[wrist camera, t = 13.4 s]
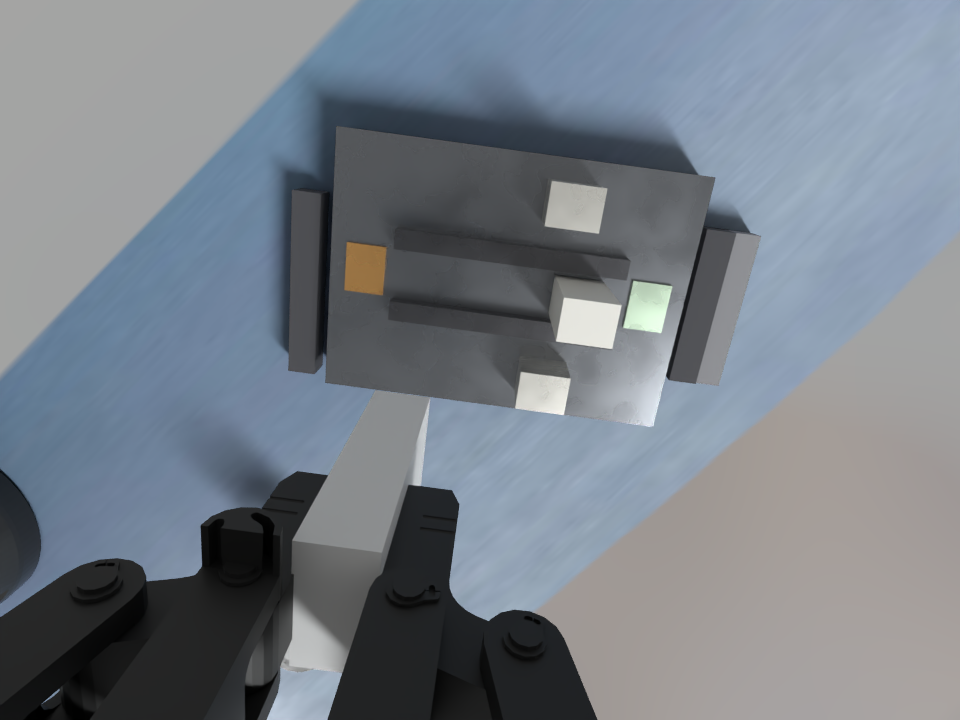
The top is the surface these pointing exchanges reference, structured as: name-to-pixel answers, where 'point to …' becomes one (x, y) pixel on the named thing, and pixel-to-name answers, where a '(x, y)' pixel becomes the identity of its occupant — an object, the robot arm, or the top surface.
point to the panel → (504, 273)
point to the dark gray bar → (307, 279)
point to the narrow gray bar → (712, 305)
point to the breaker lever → (583, 312)
